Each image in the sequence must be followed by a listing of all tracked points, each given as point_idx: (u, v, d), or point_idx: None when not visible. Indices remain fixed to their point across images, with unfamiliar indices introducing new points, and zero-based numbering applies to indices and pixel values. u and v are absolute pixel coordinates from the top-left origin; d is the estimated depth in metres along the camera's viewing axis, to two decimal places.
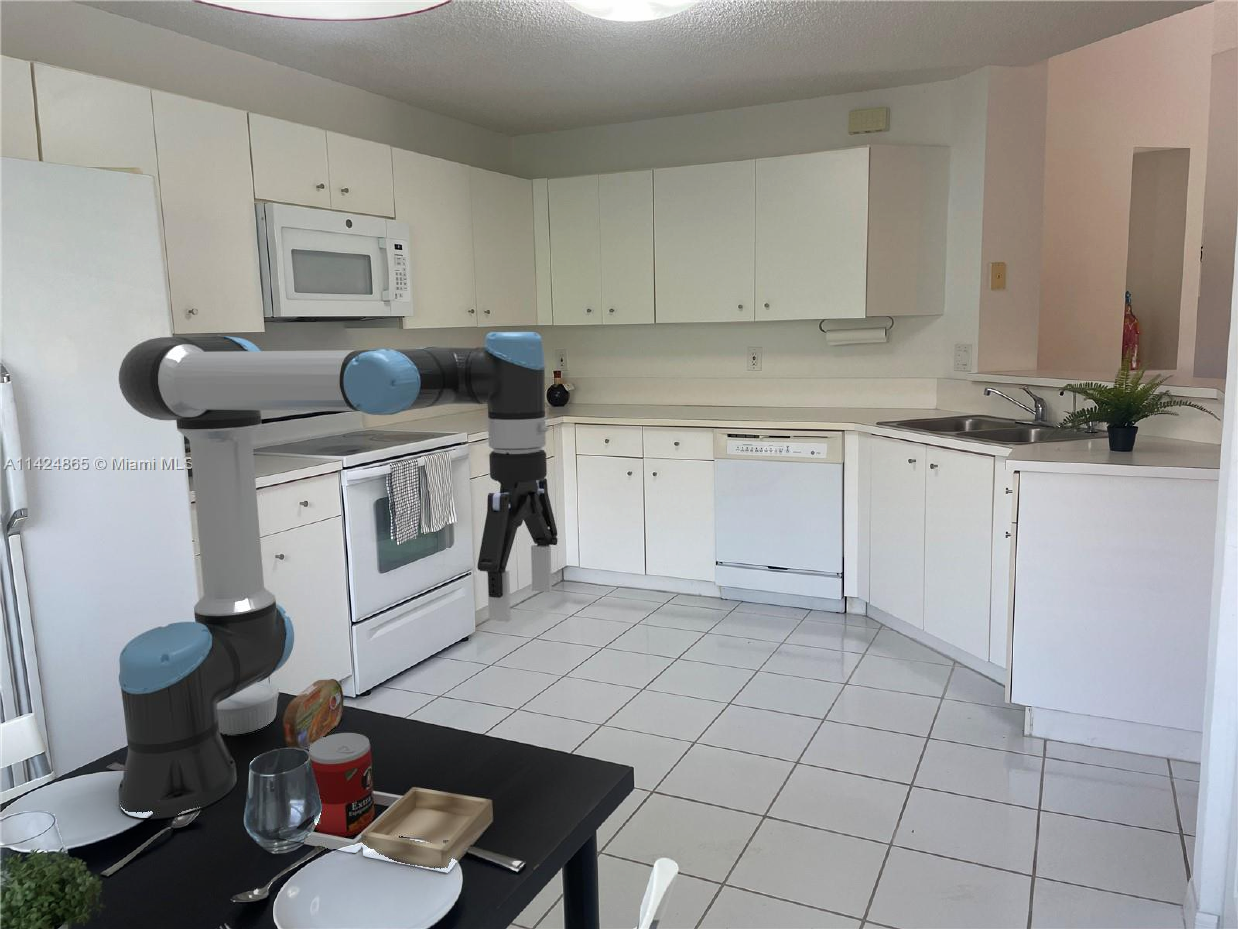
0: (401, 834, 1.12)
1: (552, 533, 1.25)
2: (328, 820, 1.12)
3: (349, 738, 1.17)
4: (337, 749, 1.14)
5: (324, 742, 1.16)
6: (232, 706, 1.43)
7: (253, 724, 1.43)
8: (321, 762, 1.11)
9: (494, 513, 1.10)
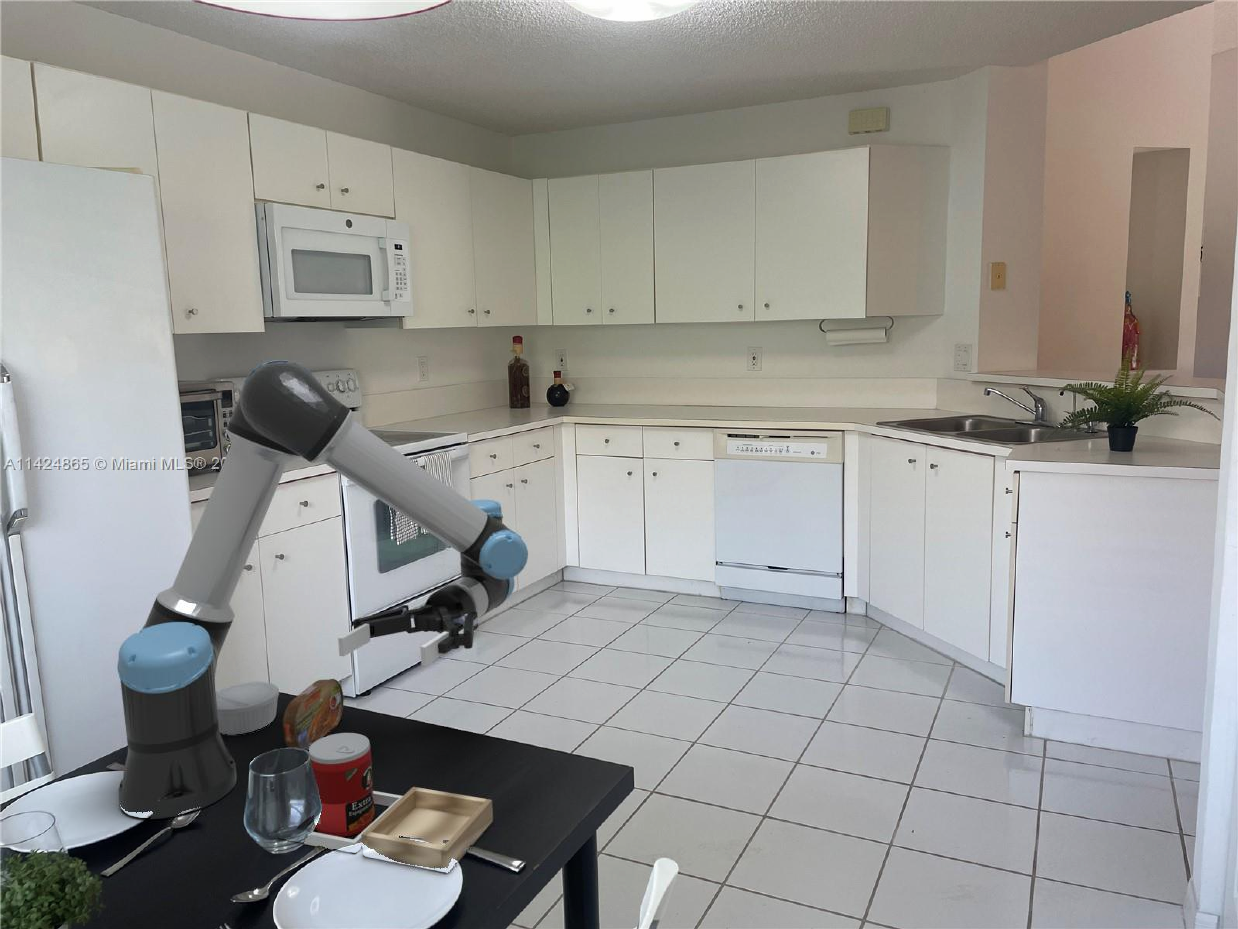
0: (401, 834, 1.12)
1: None
2: (328, 820, 1.12)
3: (349, 738, 1.17)
4: (337, 749, 1.14)
5: (324, 742, 1.16)
6: (232, 706, 1.43)
7: (253, 724, 1.43)
8: (321, 762, 1.11)
9: (473, 623, 1.34)
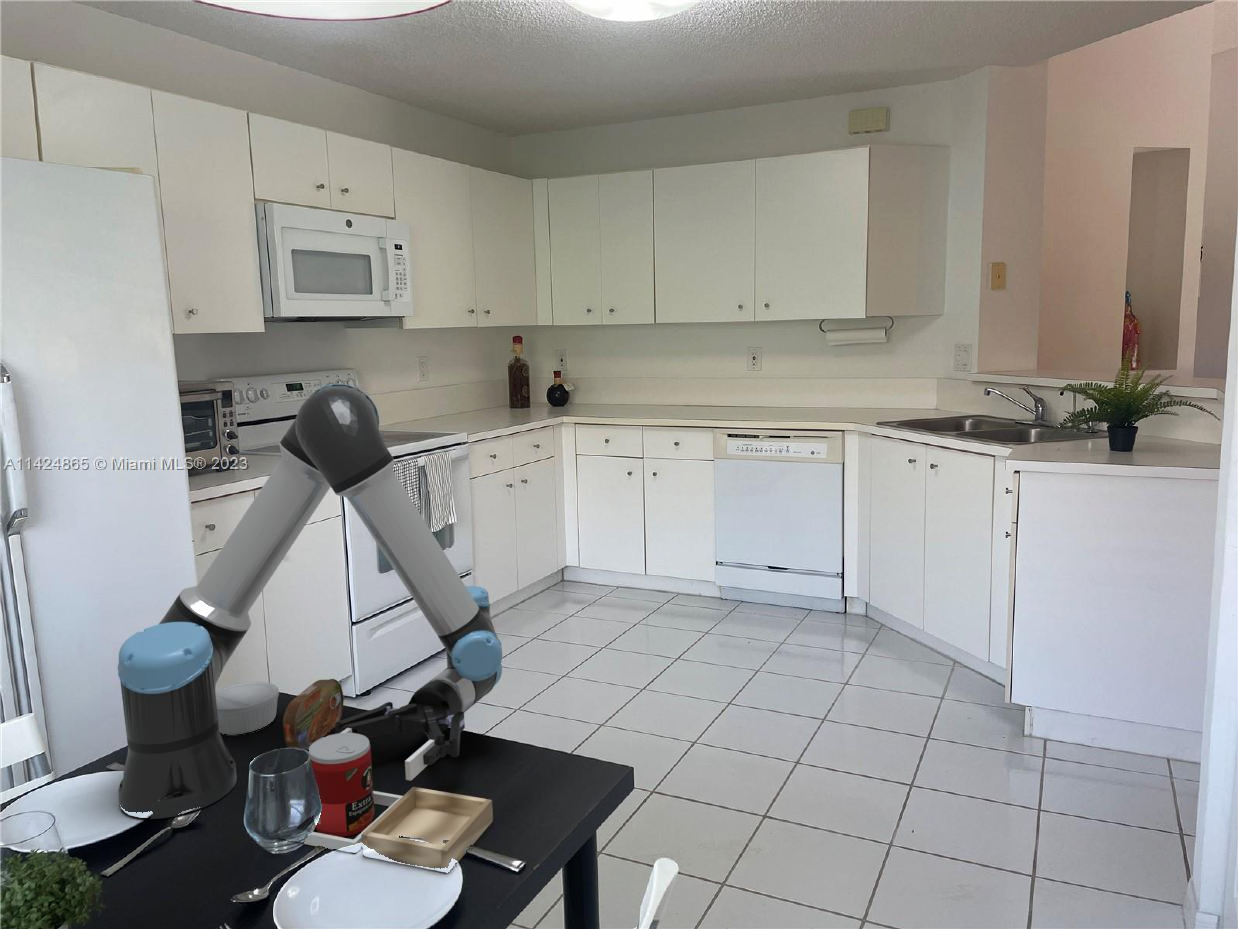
0: (401, 834, 1.12)
1: None
2: (328, 820, 1.12)
3: (349, 738, 1.17)
4: (337, 749, 1.14)
5: (324, 742, 1.16)
6: (232, 706, 1.43)
7: (253, 724, 1.43)
8: (321, 762, 1.11)
9: None
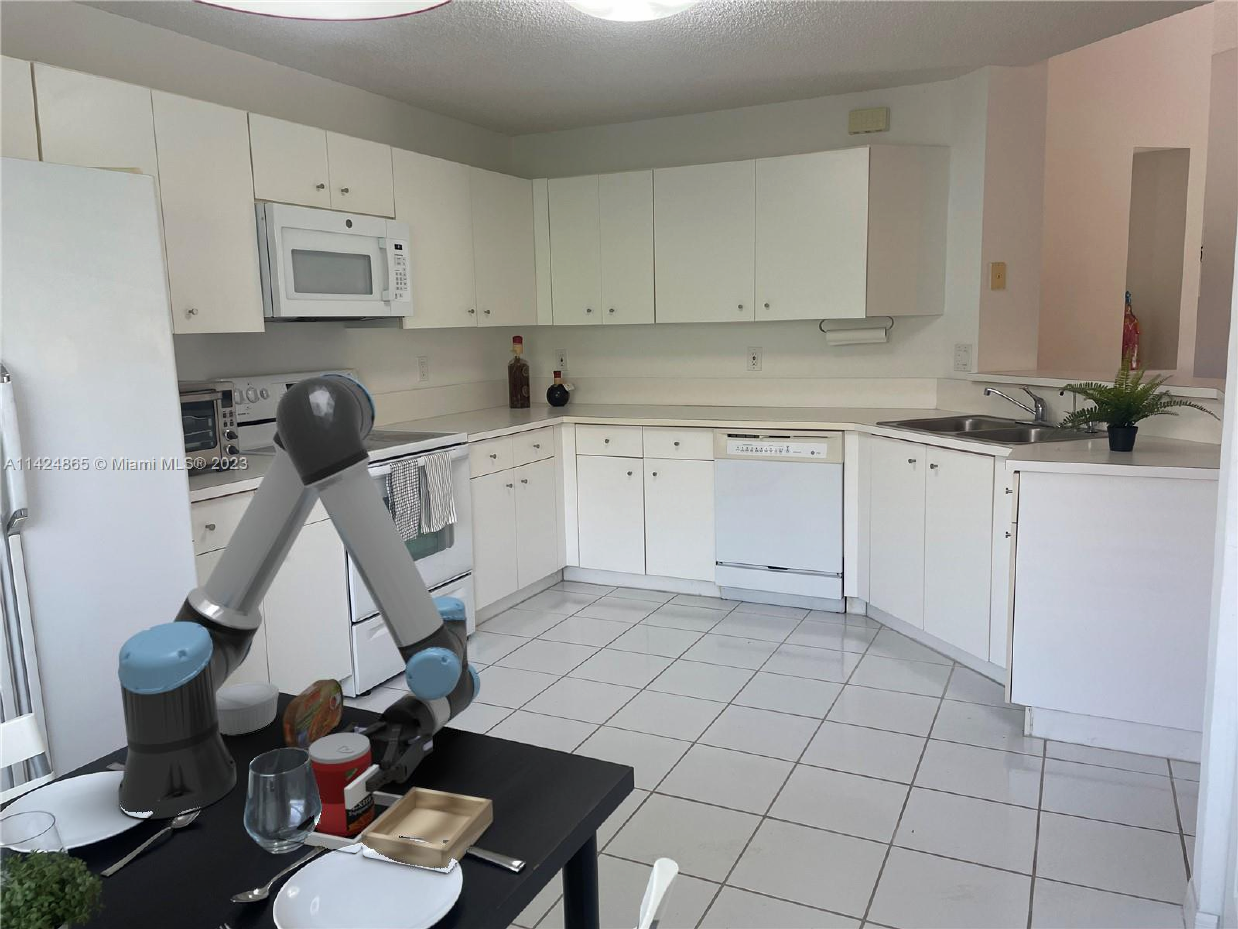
0: (401, 834, 1.12)
1: None
2: (328, 820, 1.12)
3: (349, 738, 1.17)
4: (337, 749, 1.14)
5: (324, 742, 1.16)
6: (232, 706, 1.43)
7: (253, 724, 1.43)
8: (321, 761, 1.11)
9: (422, 748, 1.23)
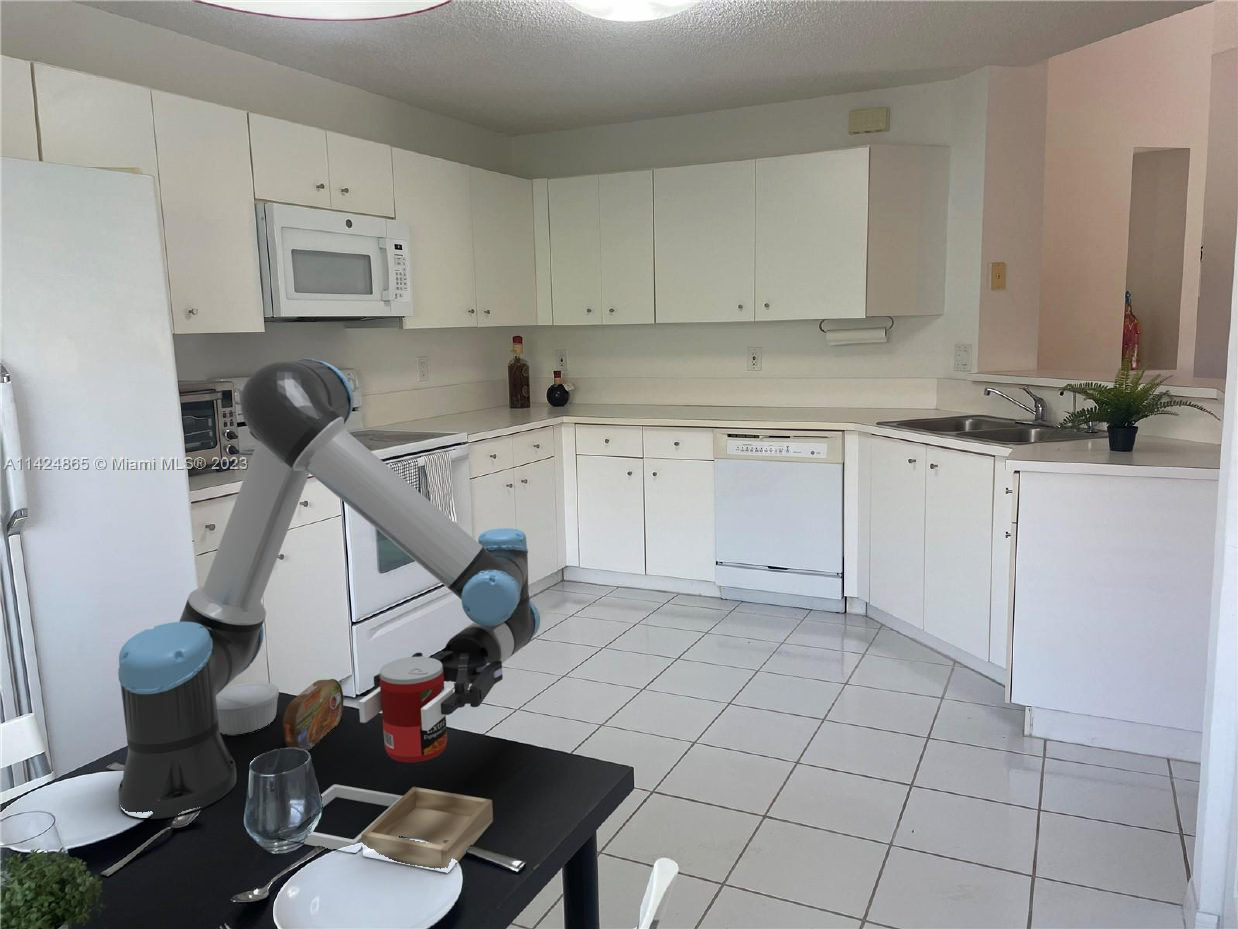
0: (401, 834, 1.12)
1: None
2: (402, 744, 1.07)
3: (420, 661, 1.12)
4: (409, 671, 1.09)
5: (394, 665, 1.11)
6: (232, 706, 1.43)
7: (253, 724, 1.43)
8: (395, 682, 1.06)
9: (493, 675, 1.18)
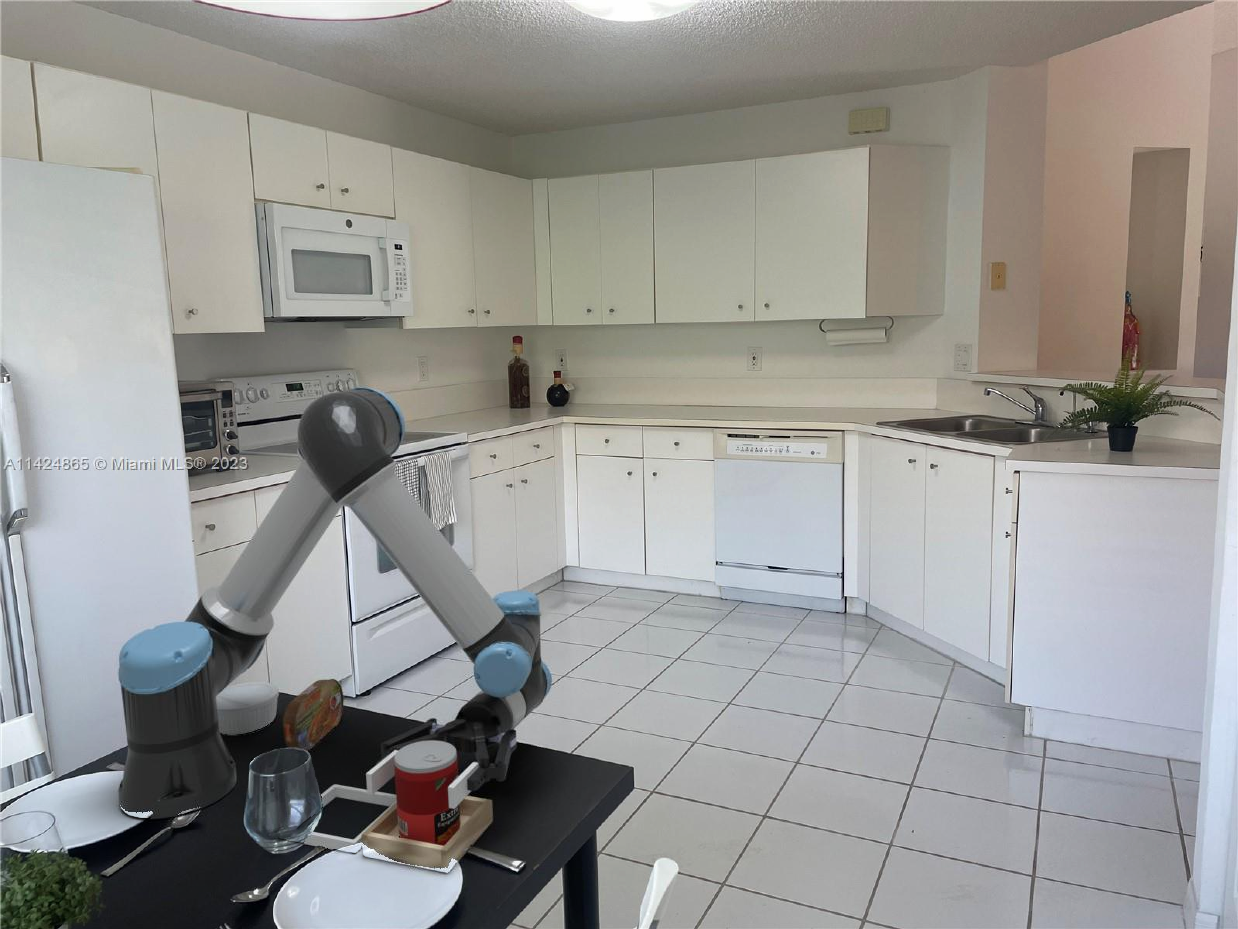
0: None
1: None
2: (416, 832, 1.08)
3: (434, 746, 1.13)
4: (424, 757, 1.10)
5: (409, 750, 1.12)
6: (232, 706, 1.43)
7: (253, 724, 1.43)
8: (410, 771, 1.07)
9: (510, 745, 1.19)
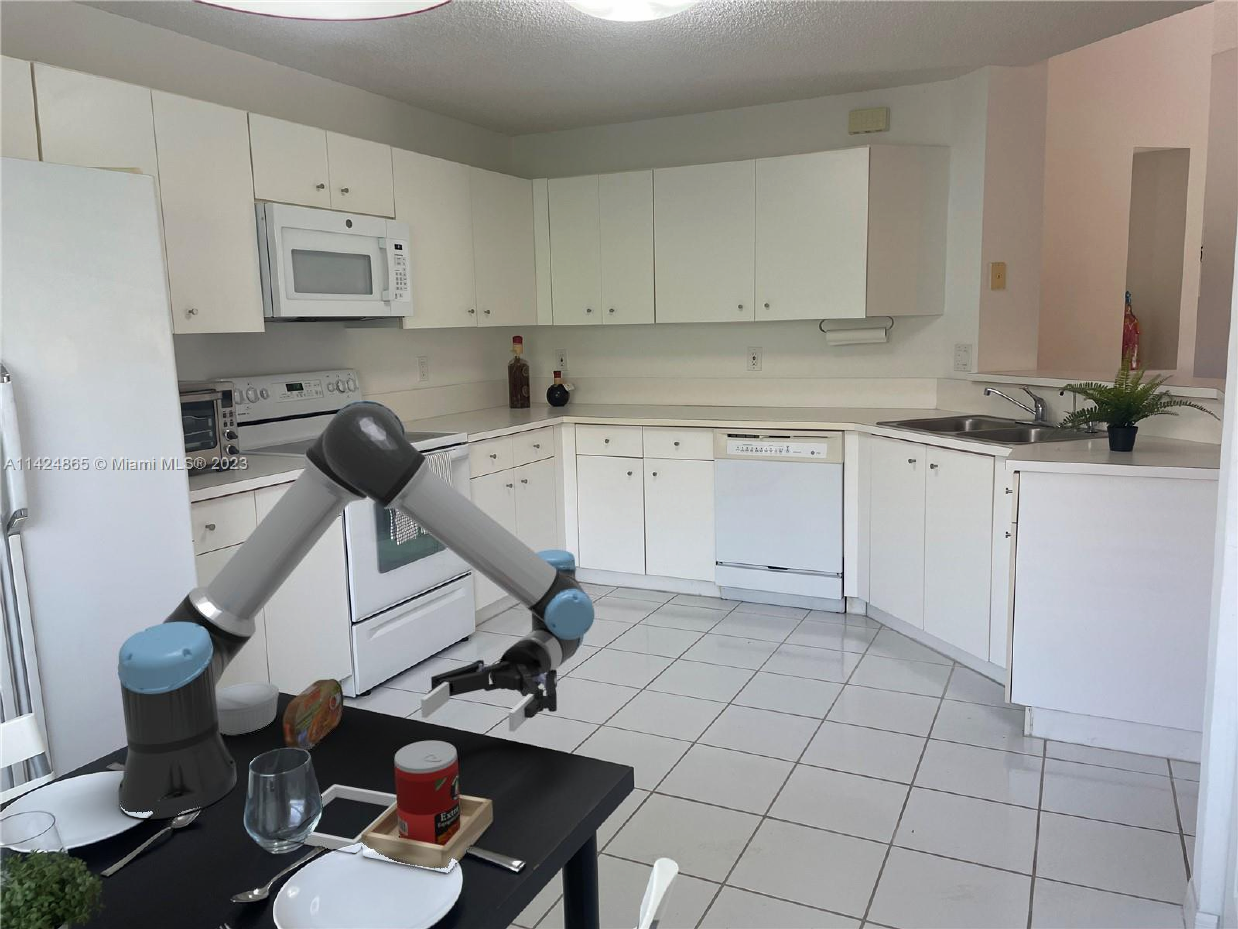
0: None
1: None
2: (416, 832, 1.08)
3: (434, 746, 1.13)
4: (424, 758, 1.10)
5: (409, 751, 1.12)
6: (232, 706, 1.43)
7: (253, 724, 1.43)
8: (410, 771, 1.07)
9: None
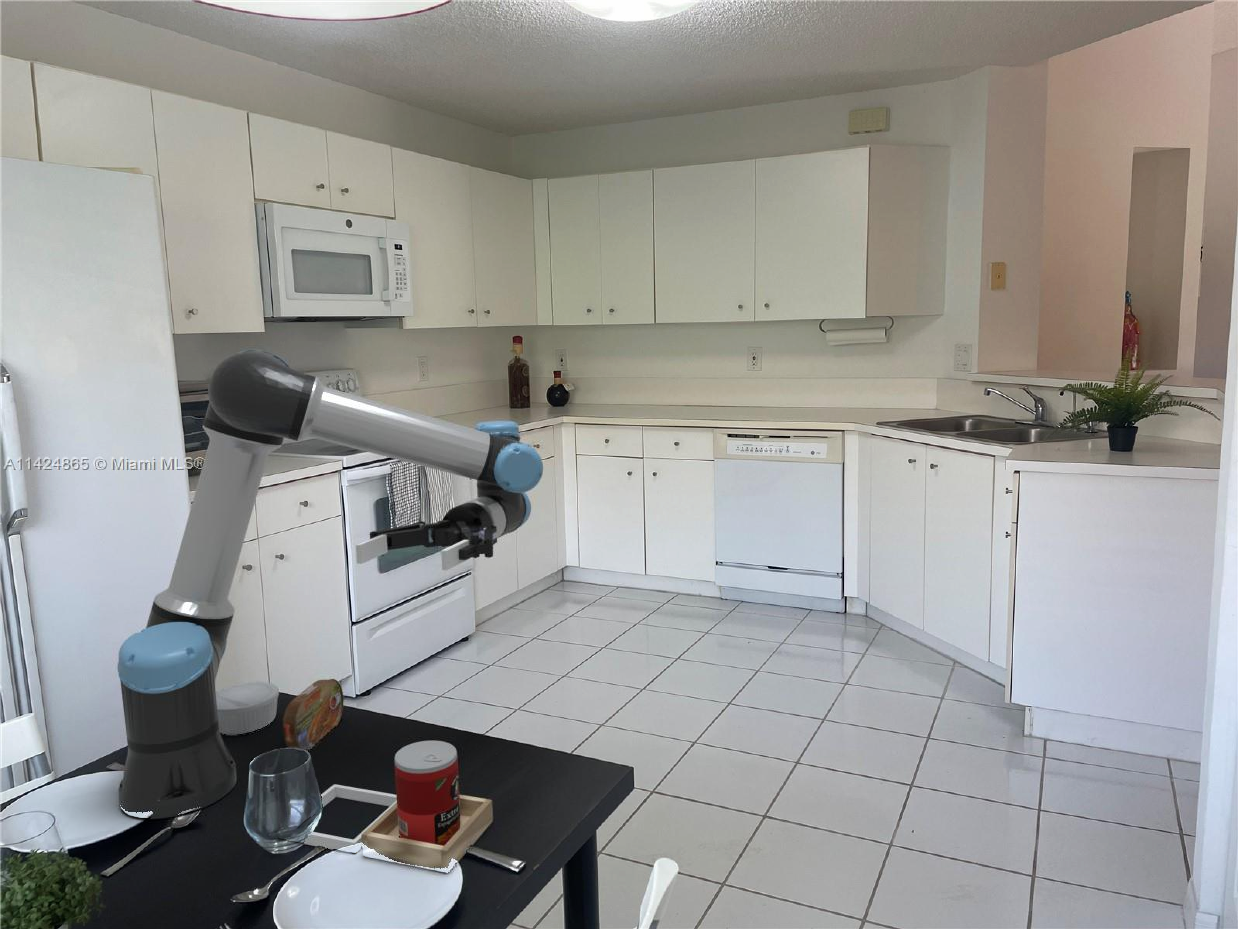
0: None
1: None
2: (416, 832, 1.08)
3: (434, 746, 1.13)
4: (424, 758, 1.10)
5: (409, 751, 1.12)
6: (232, 706, 1.43)
7: (253, 724, 1.43)
8: (410, 771, 1.07)
9: None
